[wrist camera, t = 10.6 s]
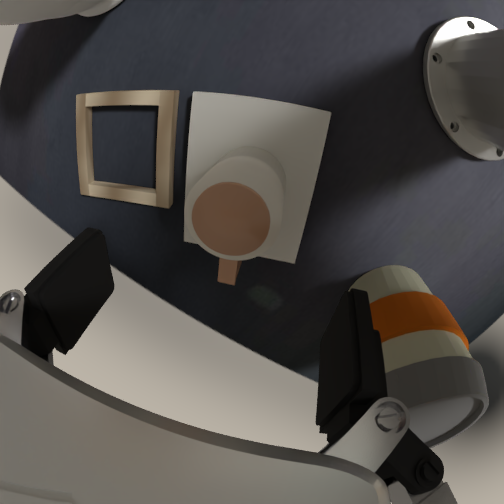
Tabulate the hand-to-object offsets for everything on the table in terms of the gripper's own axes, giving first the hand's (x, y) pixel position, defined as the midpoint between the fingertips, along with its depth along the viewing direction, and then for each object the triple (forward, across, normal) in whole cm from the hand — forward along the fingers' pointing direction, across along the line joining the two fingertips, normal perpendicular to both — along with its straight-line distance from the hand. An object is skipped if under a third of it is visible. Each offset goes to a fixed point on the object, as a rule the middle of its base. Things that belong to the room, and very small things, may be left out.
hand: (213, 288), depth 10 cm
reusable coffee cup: (+14, -14, +10) cm, 23 cm away
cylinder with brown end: (+13, +1, +2) cm, 13 cm away
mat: (+14, +1, +1) cm, 14 cm away
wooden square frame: (+14, +13, -1) cm, 19 cm away
